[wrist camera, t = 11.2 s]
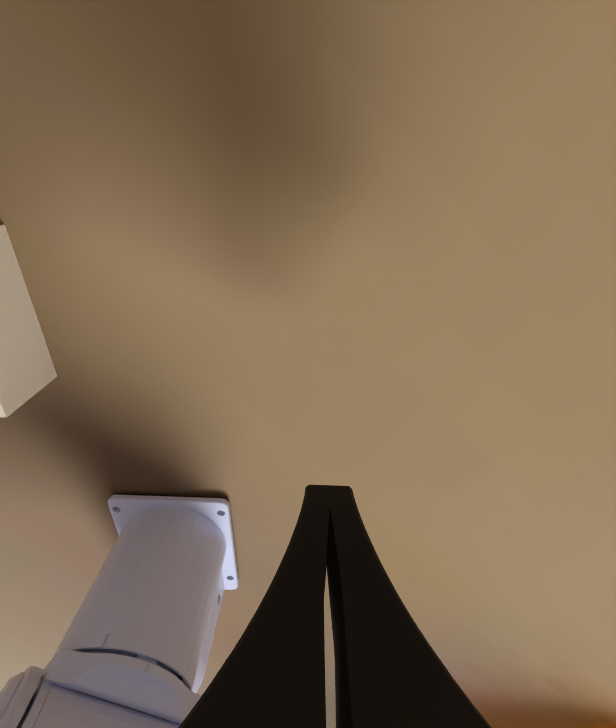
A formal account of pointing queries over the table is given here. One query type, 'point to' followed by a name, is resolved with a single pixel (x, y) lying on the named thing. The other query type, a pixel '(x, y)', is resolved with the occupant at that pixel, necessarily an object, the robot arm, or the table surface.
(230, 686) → the robot arm
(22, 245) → the table surface
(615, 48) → the table surface
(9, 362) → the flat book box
